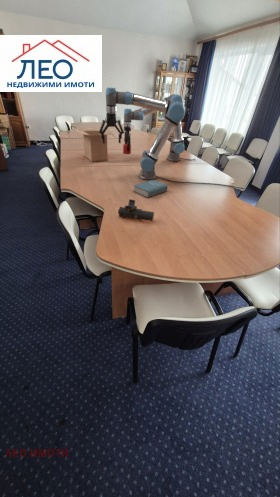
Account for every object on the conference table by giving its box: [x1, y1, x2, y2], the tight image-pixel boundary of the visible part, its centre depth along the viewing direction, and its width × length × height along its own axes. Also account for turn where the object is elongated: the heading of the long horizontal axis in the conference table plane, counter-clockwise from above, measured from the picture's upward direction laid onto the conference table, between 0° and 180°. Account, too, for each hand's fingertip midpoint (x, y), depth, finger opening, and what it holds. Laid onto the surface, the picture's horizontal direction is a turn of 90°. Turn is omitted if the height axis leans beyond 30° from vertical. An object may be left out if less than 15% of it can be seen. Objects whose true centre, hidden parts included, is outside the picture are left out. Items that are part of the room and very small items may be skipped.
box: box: [74, 128, 115, 162], centre depth 240 cm, size 44×36×27 cm
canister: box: [122, 143, 132, 155], centre depth 238 cm, size 8×8×9 cm
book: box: [133, 179, 169, 198], centre depth 177 cm, size 23×16×5 cm
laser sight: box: [117, 199, 155, 222], centre depth 138 cm, size 10×22×10 cm, turn 78°
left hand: (111, 143), depth 179 cm, fingers open, 13 cm apart
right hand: (127, 150), depth 239 cm, fingers closed on canister, 8 cm apart
